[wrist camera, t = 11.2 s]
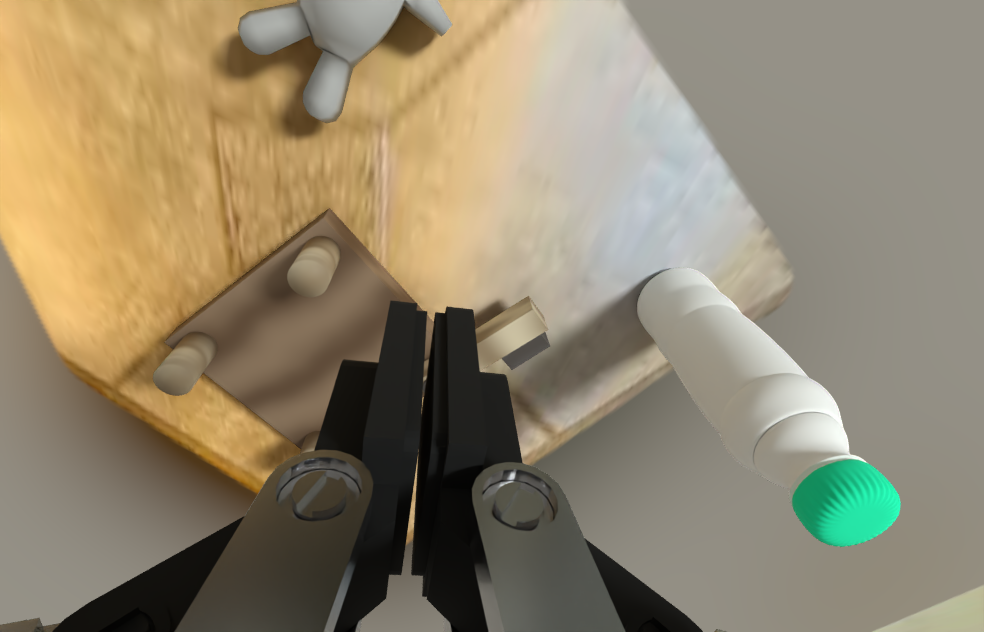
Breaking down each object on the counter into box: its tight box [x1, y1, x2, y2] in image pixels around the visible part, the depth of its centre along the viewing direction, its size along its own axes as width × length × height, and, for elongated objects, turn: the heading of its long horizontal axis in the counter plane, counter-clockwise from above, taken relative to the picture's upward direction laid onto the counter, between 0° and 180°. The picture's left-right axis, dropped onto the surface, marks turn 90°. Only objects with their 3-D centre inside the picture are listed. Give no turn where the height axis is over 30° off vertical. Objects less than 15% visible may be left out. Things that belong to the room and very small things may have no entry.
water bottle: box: [637, 267, 901, 547], centre depth 37 cm, size 7×7×25 cm
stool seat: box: [153, 208, 550, 454], centre depth 43 cm, size 19×26×8 cm
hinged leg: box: [423, 296, 548, 392], centre depth 44 cm, size 12×2×3 cm, turn 124°
